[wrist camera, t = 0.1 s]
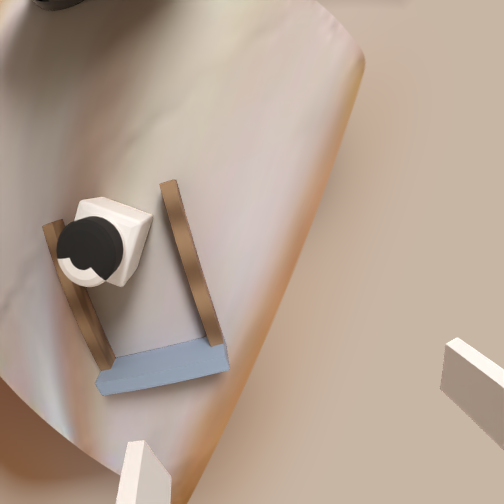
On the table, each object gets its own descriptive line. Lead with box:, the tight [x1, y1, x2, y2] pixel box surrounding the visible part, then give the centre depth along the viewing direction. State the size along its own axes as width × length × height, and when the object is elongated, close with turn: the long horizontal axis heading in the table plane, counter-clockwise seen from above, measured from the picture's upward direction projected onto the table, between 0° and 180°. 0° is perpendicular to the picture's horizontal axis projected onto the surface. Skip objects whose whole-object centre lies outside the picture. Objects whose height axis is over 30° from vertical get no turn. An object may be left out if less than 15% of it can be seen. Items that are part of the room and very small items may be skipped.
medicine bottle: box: [56, 197, 153, 287], centre depth 29 cm, size 7×7×12 cm
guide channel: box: [42, 180, 223, 371], centre depth 35 cm, size 20×17×3 cm
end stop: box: [95, 333, 230, 396], centre depth 36 cm, size 2×17×6 cm, turn 104°
